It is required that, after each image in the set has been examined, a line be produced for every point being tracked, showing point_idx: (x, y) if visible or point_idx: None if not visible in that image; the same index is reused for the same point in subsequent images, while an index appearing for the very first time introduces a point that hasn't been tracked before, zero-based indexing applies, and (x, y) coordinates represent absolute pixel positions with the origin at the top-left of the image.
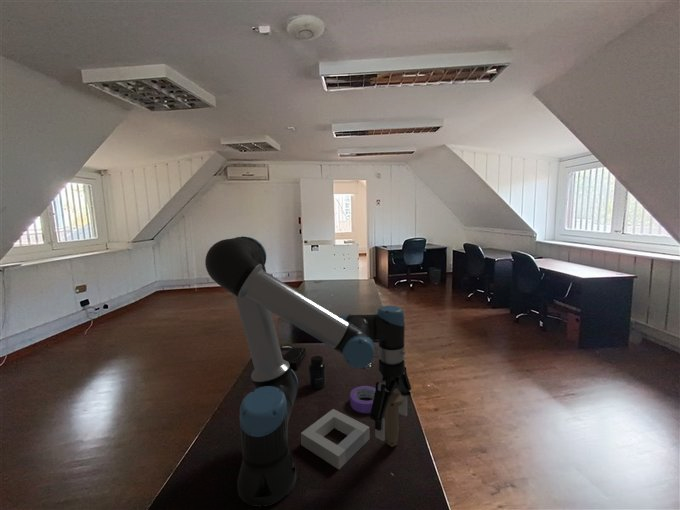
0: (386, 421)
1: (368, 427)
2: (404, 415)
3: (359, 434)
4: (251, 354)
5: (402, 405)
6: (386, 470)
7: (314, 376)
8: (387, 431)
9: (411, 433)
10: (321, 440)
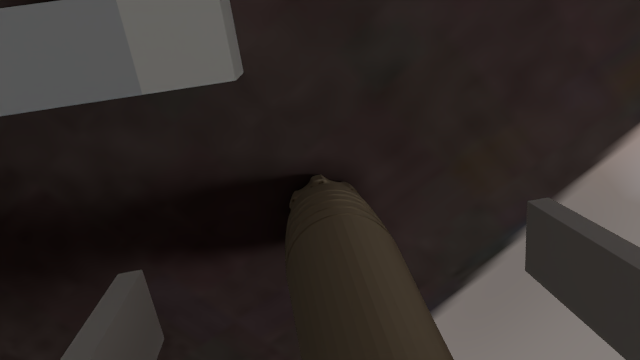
0: (296, 284)
1: (223, 77)
2: (527, 256)
3: (85, 85)
4: None
5: (595, 292)
6: None
7: None
8: (285, 253)
9: (478, 225)
10: None
